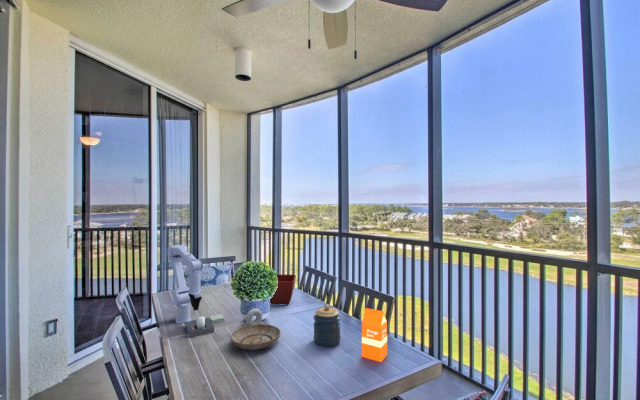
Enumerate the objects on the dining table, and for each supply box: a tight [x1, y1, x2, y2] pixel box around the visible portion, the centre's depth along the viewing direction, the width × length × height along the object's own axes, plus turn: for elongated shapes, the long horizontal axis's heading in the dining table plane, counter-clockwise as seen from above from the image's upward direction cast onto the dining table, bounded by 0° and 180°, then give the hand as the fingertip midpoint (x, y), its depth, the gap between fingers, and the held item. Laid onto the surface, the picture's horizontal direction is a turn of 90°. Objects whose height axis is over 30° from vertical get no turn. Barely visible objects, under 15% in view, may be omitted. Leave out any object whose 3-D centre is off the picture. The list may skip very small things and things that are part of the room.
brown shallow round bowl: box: [230, 323, 281, 351], centre depth 143 cm, size 23×24×5 cm
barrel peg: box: [196, 315, 206, 329], centre depth 157 cm, size 4×4×7 cm
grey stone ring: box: [245, 308, 263, 326], centre depth 162 cm, size 10×4×10 cm, turn 135°
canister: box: [313, 304, 341, 348], centre depth 144 cm, size 13×13×18 cm
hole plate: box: [184, 317, 215, 338], centre depth 159 cm, size 16×12×3 cm
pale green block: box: [208, 313, 225, 325], centre depth 171 cm, size 7×7×2 cm
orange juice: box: [361, 307, 388, 363], centre depth 131 cm, size 8×9×20 cm
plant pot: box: [269, 274, 297, 305], centre depth 204 cm, size 19×19×17 cm
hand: (194, 308), depth 161 cm, fingers open, 7 cm apart
